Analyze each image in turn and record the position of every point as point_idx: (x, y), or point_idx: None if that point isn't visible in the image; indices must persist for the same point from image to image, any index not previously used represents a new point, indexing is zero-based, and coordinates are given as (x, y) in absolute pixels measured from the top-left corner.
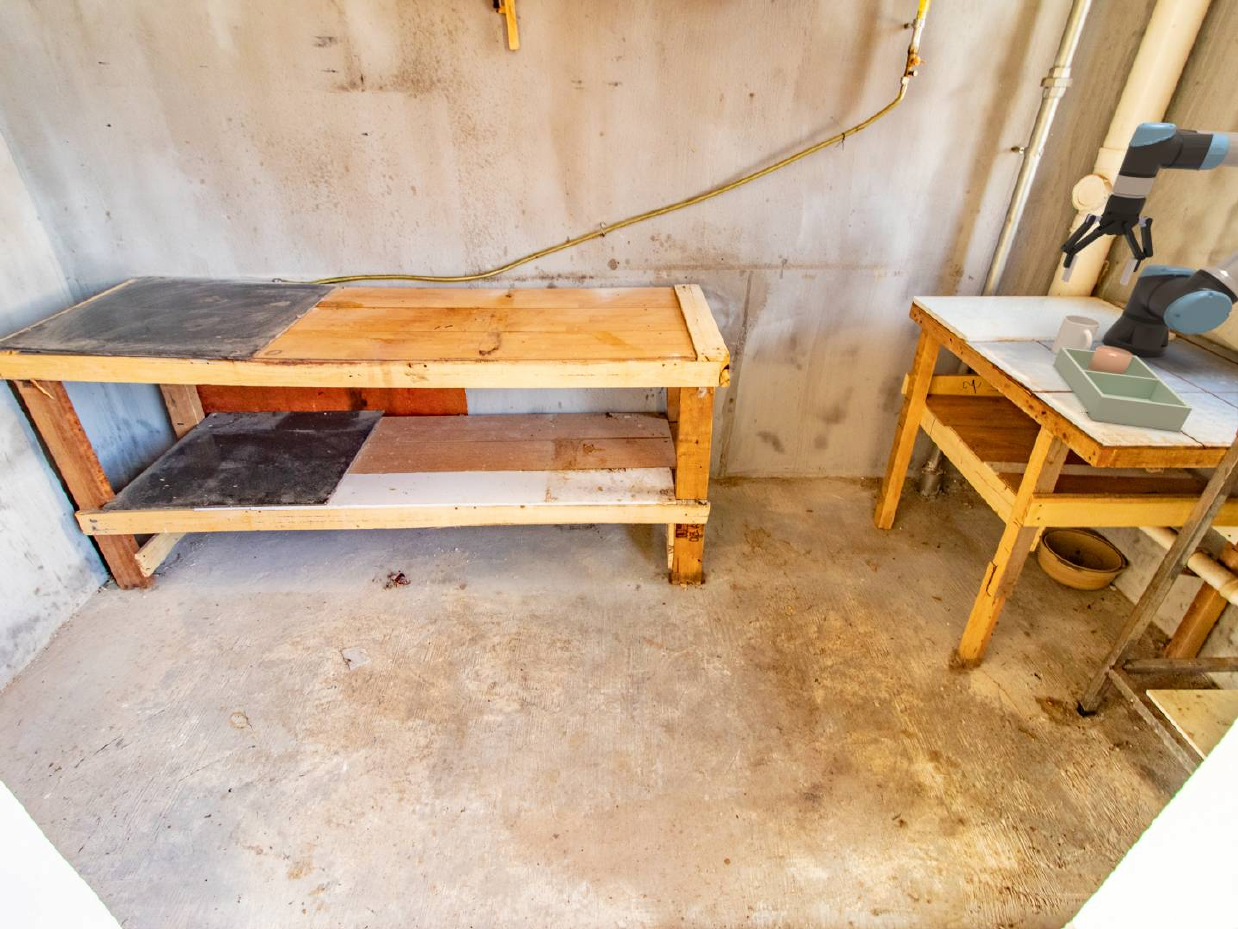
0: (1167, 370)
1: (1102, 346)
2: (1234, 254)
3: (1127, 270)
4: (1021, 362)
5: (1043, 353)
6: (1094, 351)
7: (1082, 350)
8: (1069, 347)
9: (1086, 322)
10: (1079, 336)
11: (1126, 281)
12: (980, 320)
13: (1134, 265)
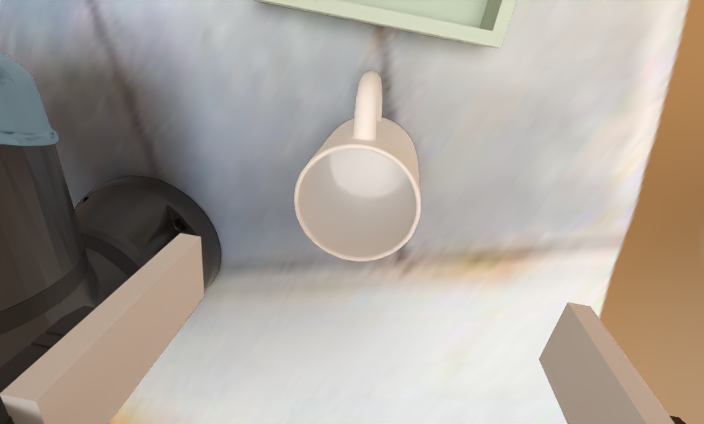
0: (117, 81)
1: None
2: None
3: (140, 334)
4: (570, 82)
5: (436, 172)
6: (377, 18)
7: (424, 21)
8: (398, 132)
9: (317, 228)
10: (383, 136)
11: (176, 252)
12: (480, 381)
13: (68, 341)
